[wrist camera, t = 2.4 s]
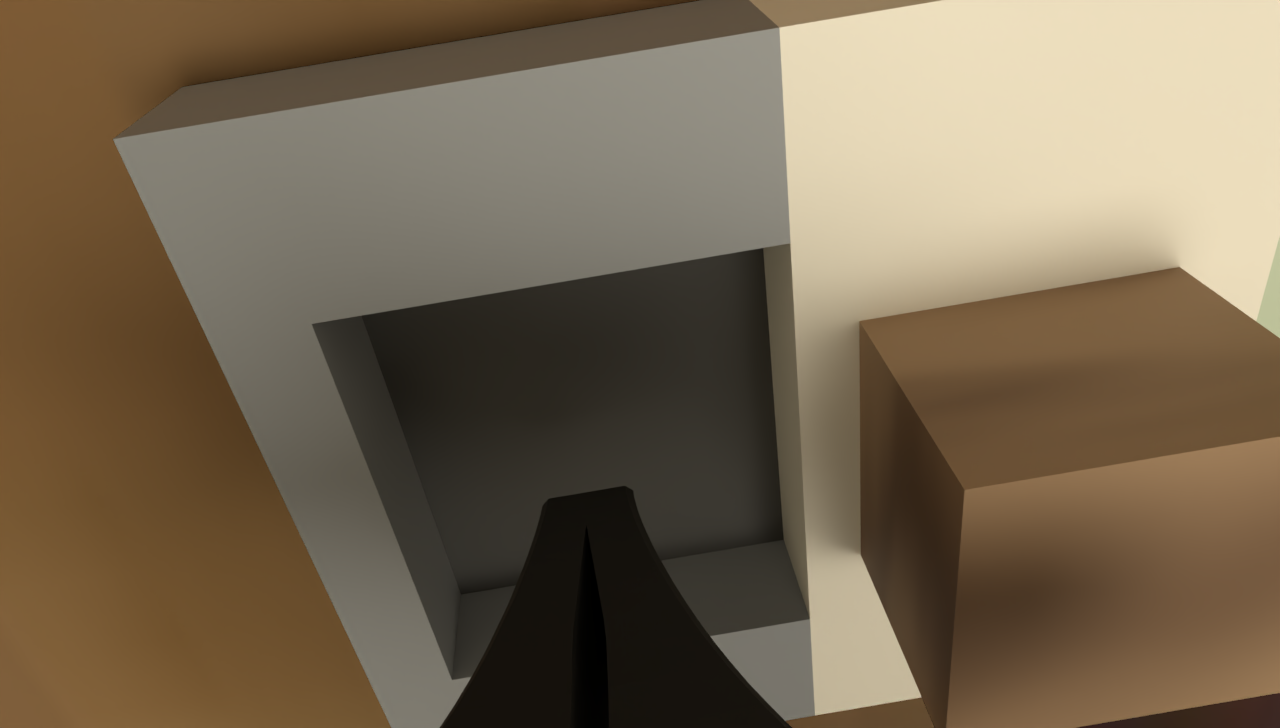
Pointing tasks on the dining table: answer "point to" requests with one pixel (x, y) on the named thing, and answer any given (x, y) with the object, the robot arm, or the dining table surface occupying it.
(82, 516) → the dining table surface
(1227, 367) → the walnut block
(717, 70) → the trap lane
